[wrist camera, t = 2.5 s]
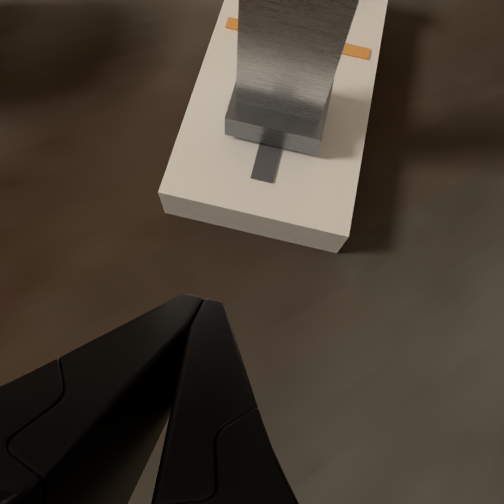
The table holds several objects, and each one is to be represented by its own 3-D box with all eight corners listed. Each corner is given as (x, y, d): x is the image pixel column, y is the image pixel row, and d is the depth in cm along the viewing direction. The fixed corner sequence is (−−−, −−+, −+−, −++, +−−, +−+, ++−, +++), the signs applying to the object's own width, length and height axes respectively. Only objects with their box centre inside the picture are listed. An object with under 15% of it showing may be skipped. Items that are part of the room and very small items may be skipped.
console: (336, 253, 24) (357, 225, 20) (164, 212, 24) (153, 177, 21) (377, 19, 30) (398, -36, 26) (239, -12, 30) (241, -70, 27)
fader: (321, 156, 23) (391, -26, 13) (219, 133, 23) (214, -65, 13) (333, 97, 24) (405, -109, 15) (236, 75, 24) (244, -144, 15)
